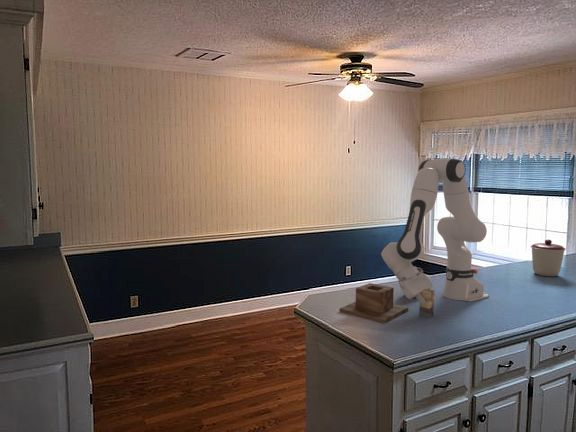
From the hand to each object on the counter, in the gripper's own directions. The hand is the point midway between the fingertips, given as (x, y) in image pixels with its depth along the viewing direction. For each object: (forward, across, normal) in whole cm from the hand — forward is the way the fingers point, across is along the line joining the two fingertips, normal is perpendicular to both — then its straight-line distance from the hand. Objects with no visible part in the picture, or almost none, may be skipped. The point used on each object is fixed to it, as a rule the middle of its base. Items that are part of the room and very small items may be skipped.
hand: (428, 301), depth 199 cm
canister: (+20, +117, -11) cm, 120 cm away
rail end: (+4, 0, +5) cm, 6 cm away
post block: (-10, -10, +19) cm, 24 cm away
